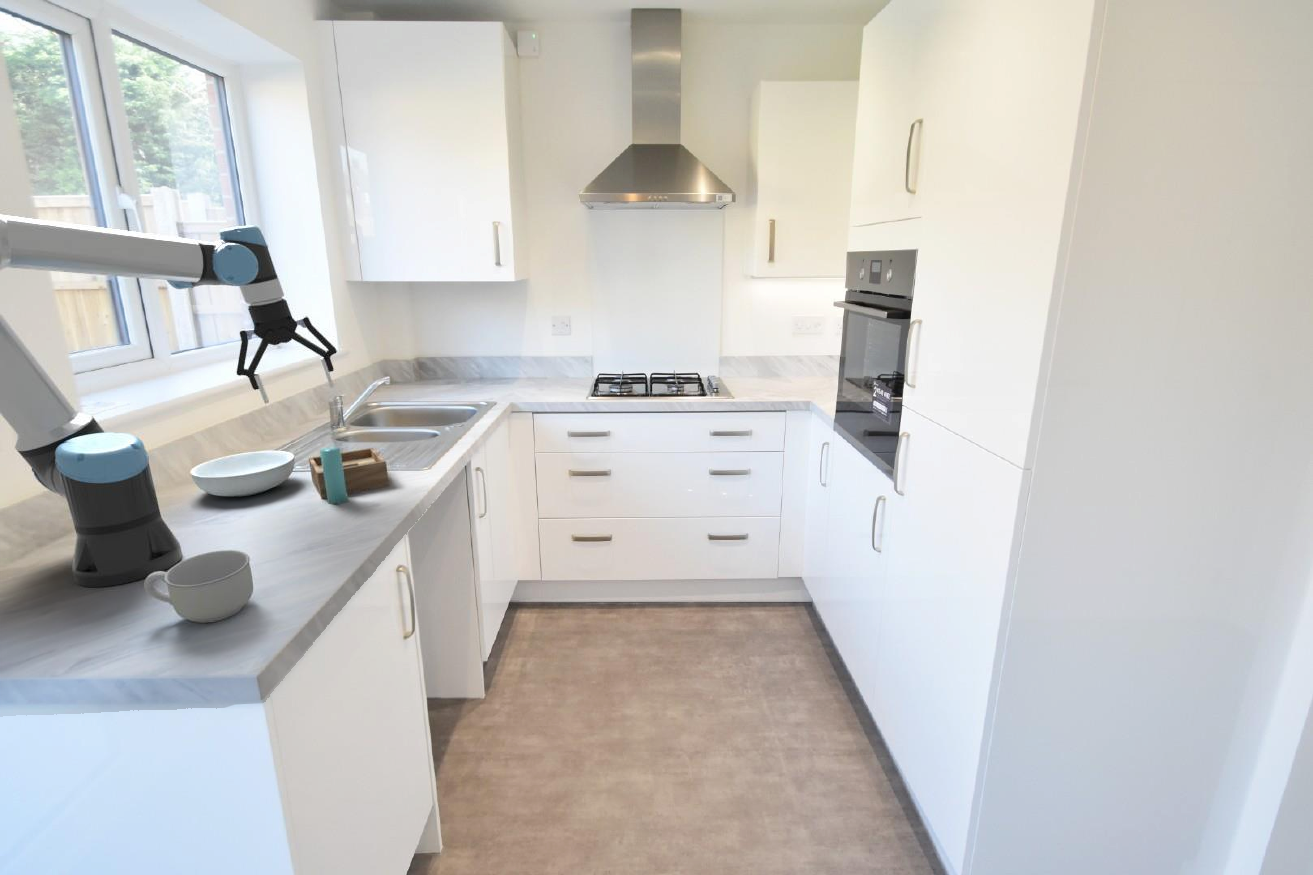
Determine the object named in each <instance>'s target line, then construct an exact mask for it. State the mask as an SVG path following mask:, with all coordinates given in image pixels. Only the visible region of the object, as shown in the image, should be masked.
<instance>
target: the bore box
mask: <svg viewBox="0 0 1313 875" xmlns="http://www.w3.org/2000/svg"><path fill="white" fill-rule="evenodd" d="M341 458H342V464H343V471H344V478H345V484H346V491H347V495H348V494H352V493H358V492H363V491H364V492H365V491H368V490H374V489H377V488H384V487H388V486H389V487H390V482H389V476H388V467H387V466H388V465H387V460H385V459H384V458H383V456H381V454H380V453H378V452H377V451H376V449H375V448H373V447H368V448H363V449H356V450H351V451H350V450H349V451H343V452H341ZM308 464H309V468H310V473H311V474H310V475H311V481H312V483H313V486H314V487H315V488H316V491H317V493H318V494H319V497H320V498H321V499H328V498H327V492H326V486H325V480H324V474H323V467H322V461H321V455H319V456H312V457H308Z"/></svg>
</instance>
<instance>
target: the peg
mask: <svg viewBox="0 0 1313 875" xmlns="http://www.w3.org/2000/svg"><path fill="white" fill-rule="evenodd" d="M319 453H320V454H319V456H321V461H322V467H323V474H324V480H325V486H326V492H327V498H326V499H327V503H328V504H331V505H338V504H342V503H346V502H347V501H348V494H347V491H346V484H345V478H344V471H343V464H342V458H341V453H342V452H341V447H340V446H329V447H324V448H321V449H320V450H319Z"/></svg>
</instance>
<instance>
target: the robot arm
mask: <svg viewBox="0 0 1313 875" xmlns="http://www.w3.org/2000/svg"><path fill="white" fill-rule="evenodd" d="M219 236H220V237H219V240H217V241H215V240H214V241H205V240H196V239H190V238H183V237H175V236H174V237H173V236H167V235H159V234H153V233H144V232H143V233H142V232H136V231H128V230H122V229H121V230H120V229H112V228H105V227H97V226H89V225H81V224H75V223H74V224H73V223H66V222H58V221H51V220H50V221H49V220H42V219H33V218H25V217H19V216H12V215H3V214H1V213H0V272H2V270H3V269H6V268H8V269H9V268H11V269H22V270H37V271H45V272H46V271H50V272H58V273H59V272H61V273H71V274H72V273H73V274H87V275H96V276H97V275H98V276H99V275H100V276H111V277H123V278H137V279H146V280H147V279H148V280H149V279H150V280H161V281H167V283H168V284H169V285H170V286H172V288H174V289H176V290H185V289H194V287H199V286H231V287H239V289H240V291H241V294H242V297H243V299H244V302H245V303H246V304H249V305H247V309H248V310H247V311H248V312H249V315H250V318H251V320H252V323H253V328H250V329H248V328H247V329H245V328H241V329H240V330H239V336H240V341H241V344H240V350H239V356H238V361H237V368H236V376H243V377H244V376H245V377H248V379H249V383H250V384H251V387H252V389H253V390H254V391H255V390H259V392H260V394H261V397H262V400H263V402H264V404H269V403H270V402H269V401H270V399H269V397H268V394H267V391H266V389H265V387H264V384H263V381H262V379H261V377H260V374H259V372H256V370H257V368H258V366H259V364H260V362H261V359H262V358H263V356H264V353H265V352H266V350H267V348H268V346H269V345H272V346H278V345H280V344H287V343H290V342H291V341H292V340H293V341H295V342H297V343H298V344H301V345H302V346H304V347H305V348H307V349H309V350H310V351H312V352H314V353H315V354H318V355H319V356H320V360H321V361H320V362H321V364H322V367H323V370H324V372H325V376H326V379H327V382H328V383H329V387H330V388H333V387H334V386H335V385H334V383H333V379H332V377H331V374H330V373H331V372H333V371H334V370H335V369H334V365H333V363H332V360H331V358H332V356H333V355H336V353H337V352H338V351H337V348H336V347H335V346H334V345H333V344H332V343H331V342H330V341H329V340H328V339H327V338H326V337H325V336H324V335H323V334H322V333H321V332H320V331H319V330H318V329H317V328H316V327H315V326H314V325H313V324H312V322H311V320H310V318H309V316H308V315H303V316H302V317H301V318H298V319H295V318H293V315H292V313H291V310H290V307H289V304H288V301H287V300H286V299H285V298H283V297H284V296H285V292H284V291H283V287H282V284H281V282H280V278H279V277H278V274H277V272H276V268H275V266H274V263H273V260H272V256H271V253H270V250H269V245H268V244H267V242H266V240H265V237H264V235H263V233H262V231H261V229H260V227H259V226H257V225H254V224H253V225H251V224H250V225H241V226H235V227H229V228H223V229H221V230H219ZM298 326H300V327H302V328H303V329H307V331H308V332H309V333H311V335H313V337H315V338H316V340H318V342H320V344H322V345H323V347H325V348H326V349H327V350H325V349H324V348H321V347H320V346H318V345H317V344H315V343H313V342H311V341H310V340H308V338H305V337H303V336H302V335H300V334H299V333H298V332H297V331H296V330H297V328H298ZM253 335H255V336H257V337H258V338H260V339H261V341H260V343H259V346H258V347H257V350H256V352H255V354H254V356H253V358H252V360H251V362H250V364H249V366H248V368H245V363H246V360H247V359H246V358H247V353H248V346H249V340H251V339H252V338H253ZM55 383H56V382H54V381H53V379H52V378H51V376H49V374H48V373H47V371H45V369H44V368H43V367H42V365H41V364H40V362H39V361H38V360H37V359H36V357H35V356H34V355H33V354H32V352H31V351H30V350H29V348H28V347H27V346H26V345H25V343H24V342H23V340H22V339H21V338H20V336H19V335H18V334H17V333H16V331H15V330H14V328H13V327H12V326H11V324H10V323H9V322H8V321H7V319H6V318H5V317H4V316H3V315H2V313H1V312H0V415H1V416H2V418H3V419H4V420H5V422H7V423H8V425H9V426H10V427H11V428H12V429H13V430H14V432H15V433H16V434H17V436H18V438H17V440H16V443H15V446H14V450H16V452H18V453H19V454H20V456H21V457H22V458H23V459H24V460H25V461H26V463H27V464H28V466H30V468H31V472H33V475H34V477H35V479H36V480H37V481H38V482H39V483H40V484H41V485H42V486H43V487H44V488H46V489H47V490H49V491H51V492H53V493H56V494H57V495H59V496H61V497H62V498H64V499H65V500H66V501H67V504H68V507H69V512H70V515H71V516H70V517H71V520H72V523H73V527H74V530H75V534H76V540H75V546H74V553H73V560H72V566H71V571H72V576H73V578H74V582H75V583H76V584H77V585H79V586H81V587H82V586H83V587H88V588H89V587H90V588H96V587H97V588H100V587H111V586H117V585H122V584H127V583H130V582H131V583H132V582H135V581H139V580H142V579H146V578H147V577H148V576H149V575H150V574H152V573H154V572H157V571H164V572H165V570H169V568H170V569H171V568H172V567H173V566H175V565H176V564H178V563H179V561H180V560H181V559H182V558H183V552H182V547H181V544H180V542H179V540H178V539H177V537H176V536H175V535H174V533H173V531H172V530H171V528H170V527H169V526H168V525H167V524H166V522H165V521H164V519H163V517H162V515H161V511H160V510H161V509H160V506H159V501H158V498H157V493H156V488H155V484H154V479H153V476H152V471H151V468H150V462H149V460H150V456H149V455H148V454H149V453H148V451H147V449H145V448H146V447H145V445H144V442H143V441H142V440H141V439H140V438H139V437H138V436H135V435H134V434H130V433H125V432H119V433H116V432H105V431H104V429H103V428H102V427H101V425H100V424H99V423H98V421H97V420H96V419H95V418H94V416H93V415H92V414H90V413H87V412H86V413H85V412H82V411H81V412H80V411H77V410H75V408H74V407H73V405H72V404H71V403H70V401H68V398H67V397H66V396H65V394H63V393H62V391H61V390H60V388H59V387H58V386H57V385H56V384H55Z"/></svg>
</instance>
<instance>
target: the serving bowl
mask: <svg viewBox="0 0 1313 875" xmlns="http://www.w3.org/2000/svg"><path fill="white" fill-rule="evenodd" d="M294 467H295V455H294V453H292V452H289V451H284V450H283V451H282V450H261V451H250V452H242V453H238V454H236V453H235V454H231V455H226V456H222V457H219V458H215V459H211V460H208V461H206V462H202V463H201V464H198V465H196V466H195V467H193V468H192V469H191V470H190V472H189V474H190V476H191V479H192V480H193V482H194V484H195V485H196V487H197V488H198V489H200V490H202V491H203V492H205V493H207V494H209V495H213V496H219V497H234V496H239V497H247V496H253V494H254V495H258V494H261V493H263V492H265V491H268V490H270V489H273V488H276V487H277V486H279V485H280V484H282V483H284V482H285V481H286V480H288V478H289V477H290V476H291V474H292V473H293V470H294ZM257 493H258V494H257Z"/></svg>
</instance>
